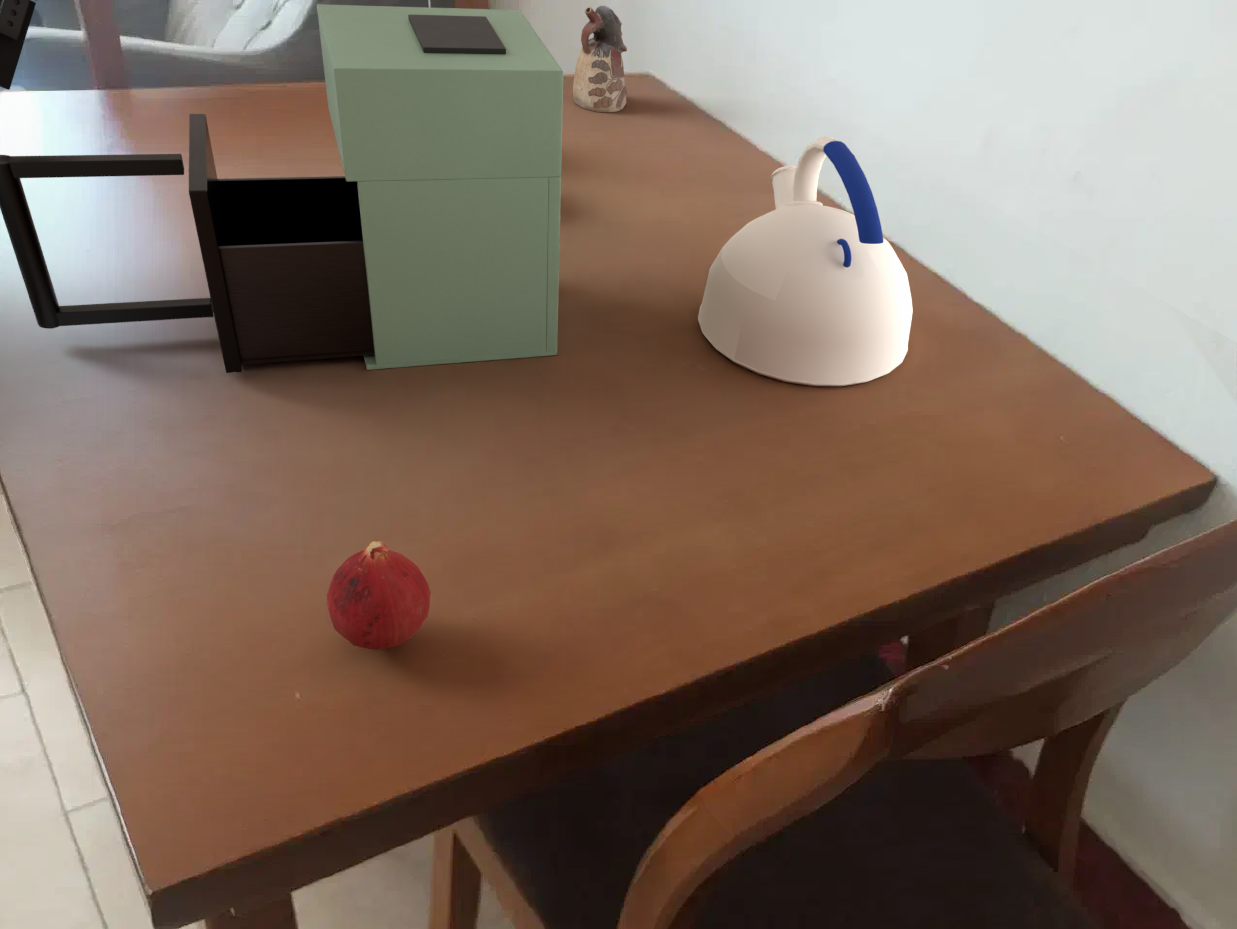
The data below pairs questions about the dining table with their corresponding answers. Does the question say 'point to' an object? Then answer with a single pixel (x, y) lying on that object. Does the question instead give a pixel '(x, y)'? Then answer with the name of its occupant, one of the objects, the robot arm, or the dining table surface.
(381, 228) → the sage green appliance box
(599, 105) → the figurine
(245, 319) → the dark brown drawer
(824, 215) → the kettle
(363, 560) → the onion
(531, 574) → the dining table surface
